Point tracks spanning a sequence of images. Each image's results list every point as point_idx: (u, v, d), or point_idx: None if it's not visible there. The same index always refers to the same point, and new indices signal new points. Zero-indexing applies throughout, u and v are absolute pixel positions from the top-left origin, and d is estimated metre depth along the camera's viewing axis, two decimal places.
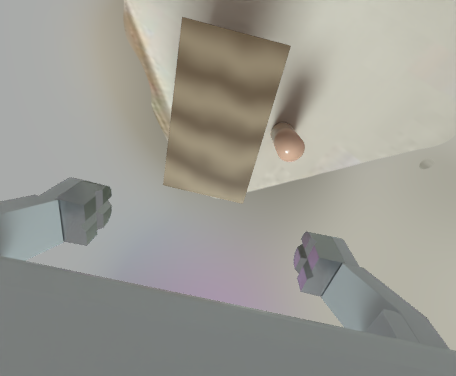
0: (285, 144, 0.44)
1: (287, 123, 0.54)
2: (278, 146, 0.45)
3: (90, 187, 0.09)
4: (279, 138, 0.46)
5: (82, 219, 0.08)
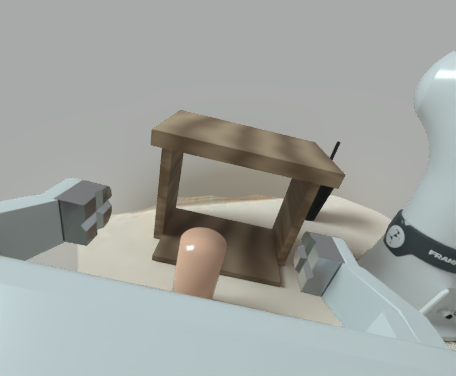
0: (210, 236, 0.27)
1: None
2: (206, 229, 0.28)
3: (90, 187, 0.09)
4: None
5: (82, 219, 0.08)
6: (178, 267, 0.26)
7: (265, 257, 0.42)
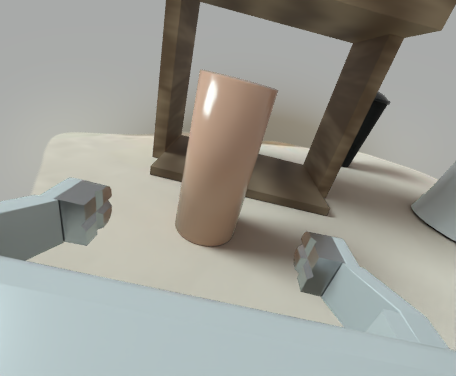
0: (247, 81, 0.16)
1: None
2: (238, 78, 0.17)
3: (90, 187, 0.09)
4: None
5: (82, 219, 0.08)
6: (195, 121, 0.15)
7: (301, 185, 0.31)
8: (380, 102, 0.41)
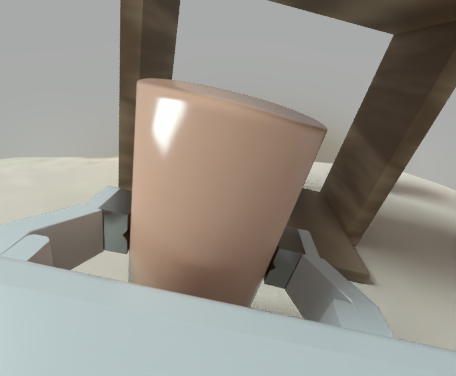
0: (253, 101, 0.08)
1: None
2: (233, 93, 0.09)
3: (129, 196, 0.09)
4: None
5: (124, 228, 0.08)
6: (134, 199, 0.07)
7: (324, 230, 0.23)
8: None
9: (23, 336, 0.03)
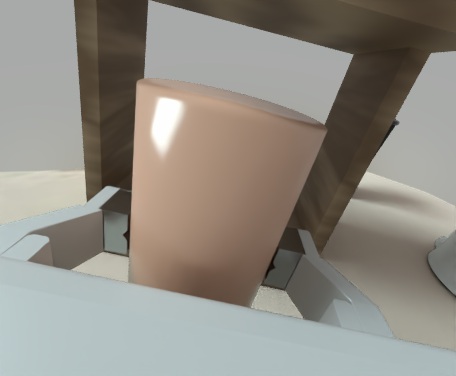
0: (253, 101, 0.08)
1: None
2: (233, 93, 0.09)
3: (129, 196, 0.09)
4: None
5: (124, 228, 0.08)
6: (134, 200, 0.07)
7: None
8: None
9: (23, 336, 0.03)
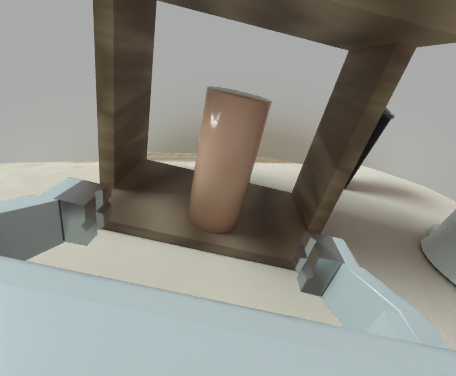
0: (246, 94, 0.20)
1: (237, 223, 0.24)
2: (238, 91, 0.21)
3: (90, 187, 0.09)
4: None
5: (82, 219, 0.08)
6: (204, 129, 0.19)
7: (286, 227, 0.25)
8: (382, 117, 0.35)
9: (23, 336, 0.03)
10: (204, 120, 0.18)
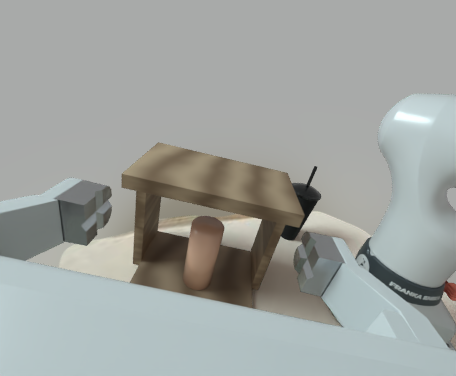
0: (212, 221, 0.38)
1: (210, 281, 0.42)
2: (208, 217, 0.39)
3: (90, 187, 0.09)
4: None
5: (82, 219, 0.08)
6: (190, 243, 0.37)
7: (239, 282, 0.44)
8: (311, 200, 0.54)
9: (23, 336, 0.03)
10: (190, 239, 0.37)
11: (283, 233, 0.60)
